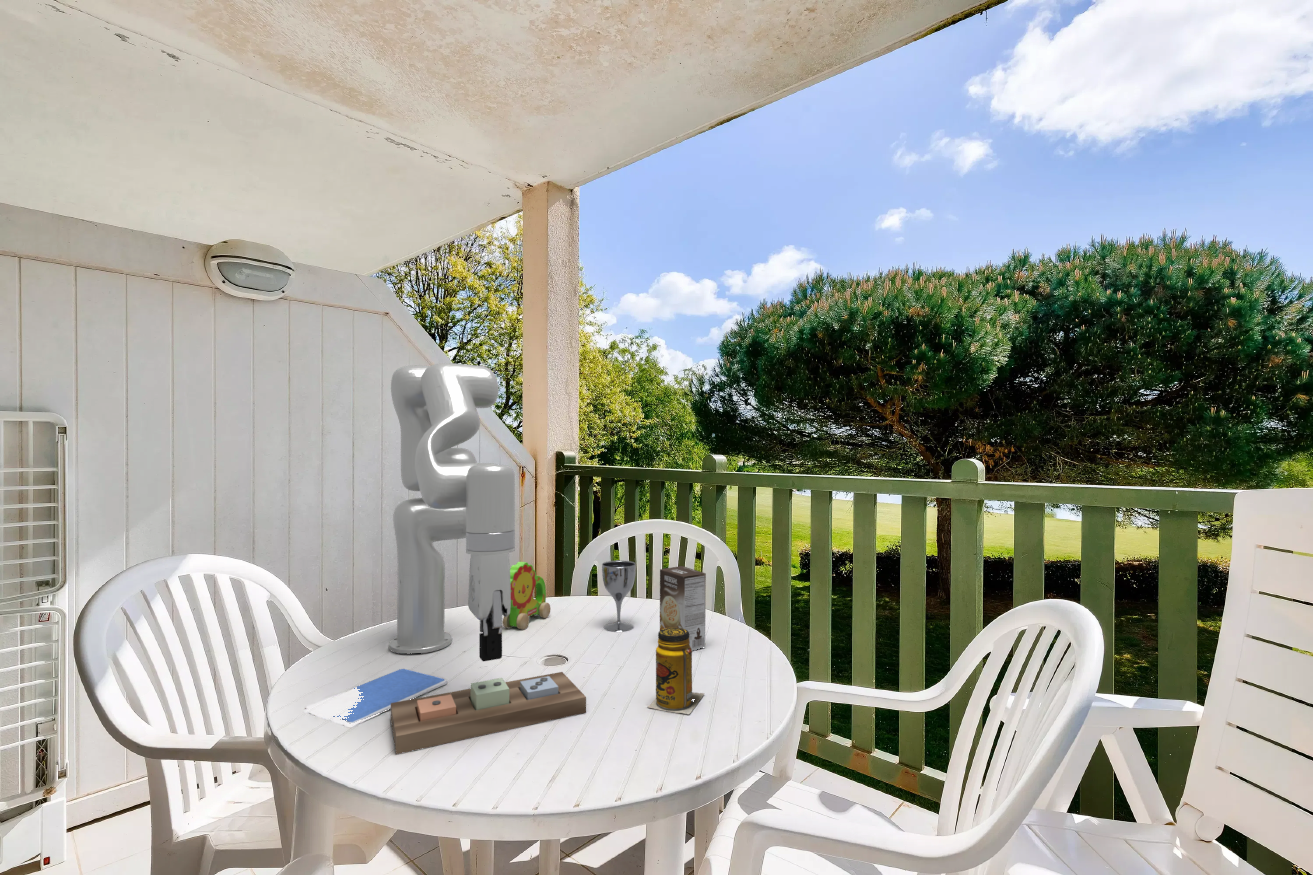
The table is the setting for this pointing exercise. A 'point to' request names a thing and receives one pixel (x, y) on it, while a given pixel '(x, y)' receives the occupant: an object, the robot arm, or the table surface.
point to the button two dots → (489, 693)
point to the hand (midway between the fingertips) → (490, 658)
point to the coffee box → (684, 602)
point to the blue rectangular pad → (391, 692)
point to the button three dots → (538, 688)
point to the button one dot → (435, 707)
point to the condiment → (674, 672)
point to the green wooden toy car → (525, 596)
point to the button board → (483, 715)
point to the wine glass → (618, 588)
